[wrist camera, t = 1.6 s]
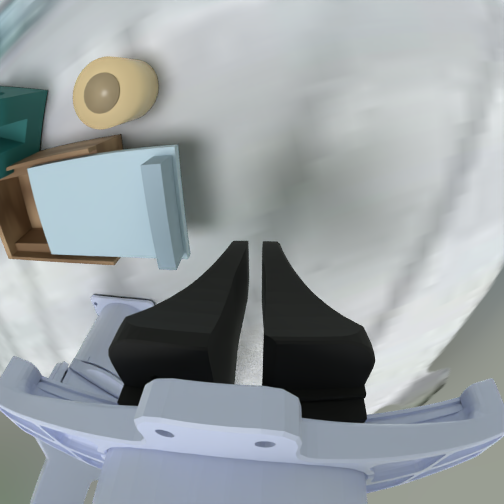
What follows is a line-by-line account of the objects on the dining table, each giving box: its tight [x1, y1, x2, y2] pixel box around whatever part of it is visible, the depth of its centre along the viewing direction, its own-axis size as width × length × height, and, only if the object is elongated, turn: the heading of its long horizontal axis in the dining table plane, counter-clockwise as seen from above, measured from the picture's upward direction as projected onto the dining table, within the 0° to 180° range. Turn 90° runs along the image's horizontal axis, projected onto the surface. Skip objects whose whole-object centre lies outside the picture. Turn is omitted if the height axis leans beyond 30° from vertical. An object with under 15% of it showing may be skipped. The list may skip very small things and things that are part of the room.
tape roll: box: [73, 57, 159, 129], centre depth 16 cm, size 5×5×4 cm
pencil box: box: [0, 134, 123, 265], centre depth 20 cm, size 9×14×5 cm, turn 91°
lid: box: [27, 144, 190, 270], centre depth 18 cm, size 8×13×3 cm, turn 91°
